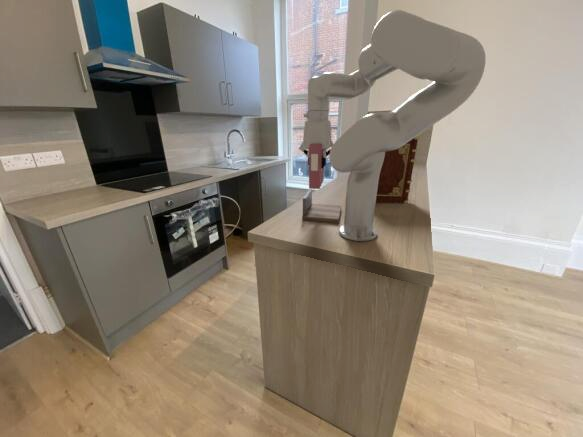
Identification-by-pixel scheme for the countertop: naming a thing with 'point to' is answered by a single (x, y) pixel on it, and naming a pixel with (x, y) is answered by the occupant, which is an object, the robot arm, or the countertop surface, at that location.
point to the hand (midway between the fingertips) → (316, 167)
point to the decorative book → (397, 174)
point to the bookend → (307, 202)
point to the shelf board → (323, 214)
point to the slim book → (315, 166)
